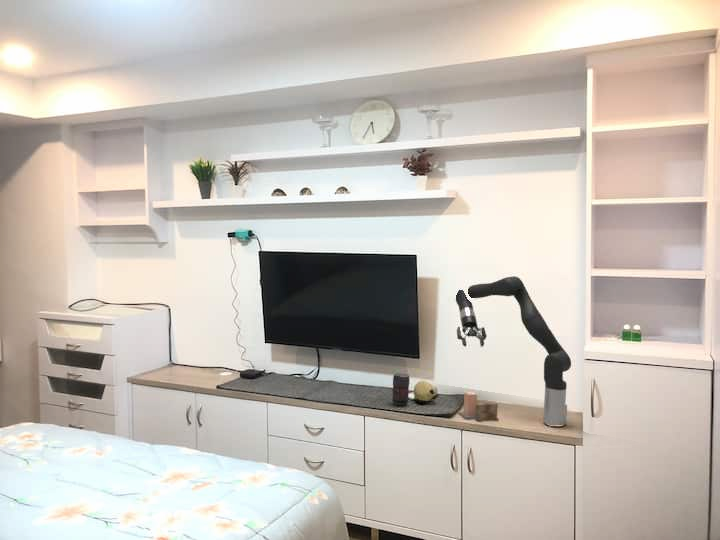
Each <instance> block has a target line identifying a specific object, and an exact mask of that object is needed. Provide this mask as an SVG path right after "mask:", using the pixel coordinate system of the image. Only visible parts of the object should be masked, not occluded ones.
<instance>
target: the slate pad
mask: <svg viewBox="0 0 720 540" xmlns="http://www.w3.org/2000/svg"><path fill="white" fill-rule="evenodd" d="M463 412H464V411H458V412H457V414H458V416H460V417H462V418H463V419H464V420H475V417H476V416H467V415H466V414H464V413H463Z"/></svg>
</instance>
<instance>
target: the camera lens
mask: <svg viewBox="0 0 720 540" xmlns="http://www.w3.org/2000/svg"><path fill="white" fill-rule="evenodd" d="M409 389H410V375H409V374H407V373H403V372H398V373H394V374H393V376H392V390H391V391H392V394H391V395H392V396H391V397H392V402H393V406H395V407H401V408H402V407H406V406H407V405H408V402H409Z"/></svg>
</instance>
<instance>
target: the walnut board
mask: <svg viewBox="0 0 720 540" xmlns="http://www.w3.org/2000/svg"><path fill="white" fill-rule="evenodd" d="M498 406H499V404H498V402H488V403H487V402H486V403H477V406H476V417H475V419H474V420H475V421H477V422H479V423H482V422H484V421H495V422H498V421H499V417H498Z"/></svg>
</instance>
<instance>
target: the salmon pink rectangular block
mask: <svg viewBox="0 0 720 540" xmlns="http://www.w3.org/2000/svg"><path fill="white" fill-rule="evenodd" d="M463 397H464V398H463V411H462V412H463V413H464V414H466V415H467V416H476V406H477V404H478V394H477V393H476V392H474V391H464V394H463Z"/></svg>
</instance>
